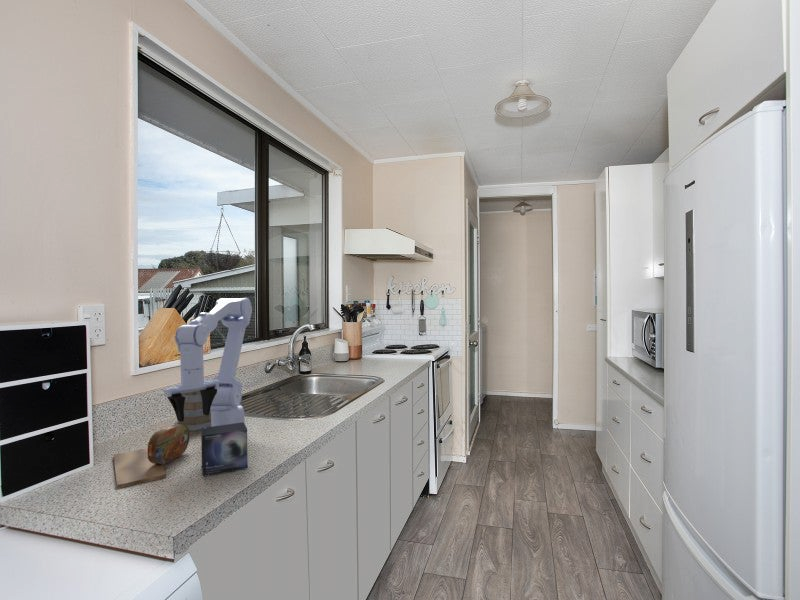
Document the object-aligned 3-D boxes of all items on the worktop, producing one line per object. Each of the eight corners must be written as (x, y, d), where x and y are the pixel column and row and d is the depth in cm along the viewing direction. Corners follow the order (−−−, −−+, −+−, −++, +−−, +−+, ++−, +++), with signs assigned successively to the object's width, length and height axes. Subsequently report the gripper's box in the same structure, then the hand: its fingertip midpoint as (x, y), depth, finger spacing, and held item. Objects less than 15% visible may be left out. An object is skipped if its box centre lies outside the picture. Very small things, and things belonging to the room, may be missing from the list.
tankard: (182, 433, 143) (181, 386, 142) (171, 425, 152) (170, 381, 152) (243, 420, 156) (242, 377, 156) (230, 413, 165) (229, 373, 165)
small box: (203, 478, 108) (201, 434, 108) (201, 468, 114) (200, 427, 113) (248, 469, 113) (247, 427, 112) (244, 460, 118) (243, 421, 118)
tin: (154, 468, 111) (158, 434, 112) (142, 467, 111) (146, 433, 112) (189, 451, 126) (192, 421, 126) (178, 450, 126) (181, 420, 127)
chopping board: (155, 449, 128) (154, 446, 128) (165, 477, 108) (165, 474, 108) (113, 457, 122) (113, 454, 122) (117, 488, 103) (117, 484, 103)
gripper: (209, 363, 131) (210, 409, 131) (158, 371, 119) (159, 421, 119) (222, 365, 126) (224, 413, 127) (170, 373, 115) (172, 426, 115)
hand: (193, 417), depth 123 cm, fingers open, 7 cm apart
